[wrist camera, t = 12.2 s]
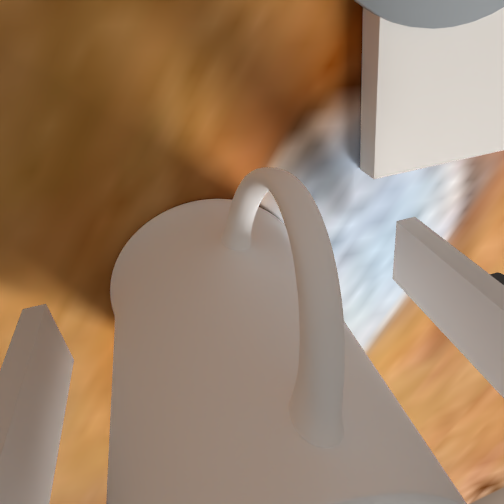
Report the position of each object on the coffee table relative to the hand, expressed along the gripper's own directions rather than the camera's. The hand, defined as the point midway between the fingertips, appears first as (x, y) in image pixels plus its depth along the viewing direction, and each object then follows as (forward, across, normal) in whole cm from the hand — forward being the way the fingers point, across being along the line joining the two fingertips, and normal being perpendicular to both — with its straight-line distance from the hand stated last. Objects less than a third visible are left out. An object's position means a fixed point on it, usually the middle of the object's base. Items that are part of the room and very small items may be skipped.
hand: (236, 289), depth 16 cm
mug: (+3, 0, 0) cm, 3 cm away
